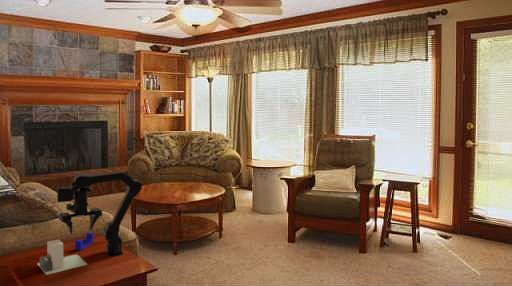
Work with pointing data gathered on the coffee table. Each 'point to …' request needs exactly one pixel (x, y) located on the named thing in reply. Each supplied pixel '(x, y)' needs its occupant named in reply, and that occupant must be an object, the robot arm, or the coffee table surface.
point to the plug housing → (55, 253)
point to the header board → (69, 263)
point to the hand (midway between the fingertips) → (80, 232)
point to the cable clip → (84, 242)
